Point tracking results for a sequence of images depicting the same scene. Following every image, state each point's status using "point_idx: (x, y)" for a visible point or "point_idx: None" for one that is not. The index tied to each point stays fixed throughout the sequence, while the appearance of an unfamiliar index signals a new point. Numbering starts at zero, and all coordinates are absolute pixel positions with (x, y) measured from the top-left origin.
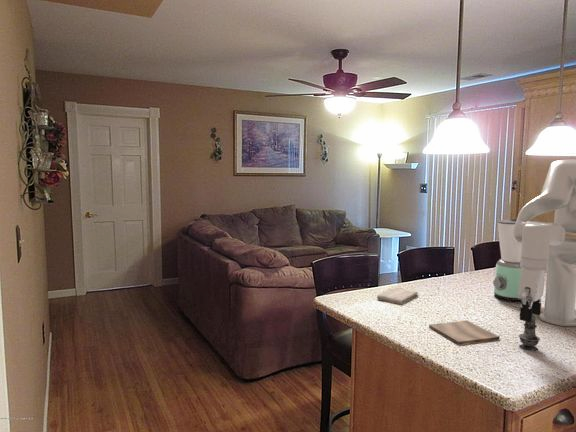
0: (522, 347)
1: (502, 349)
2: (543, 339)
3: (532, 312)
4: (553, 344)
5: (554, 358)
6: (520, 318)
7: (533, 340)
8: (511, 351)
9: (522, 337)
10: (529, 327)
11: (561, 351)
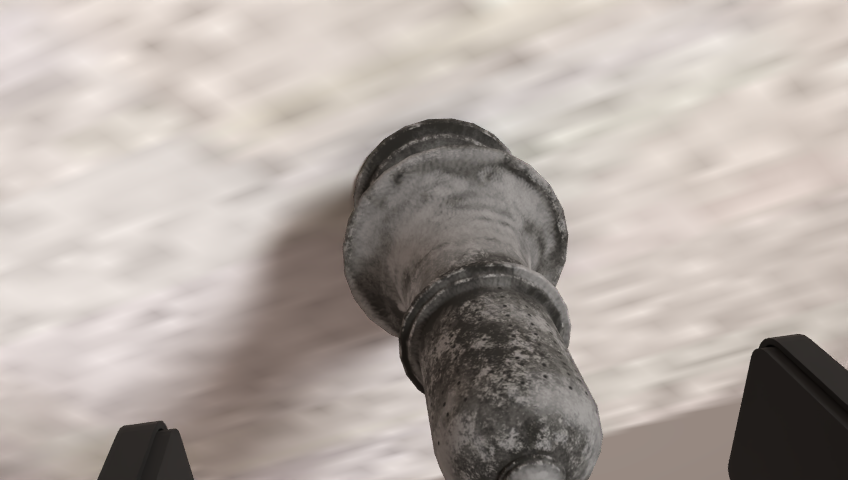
0: (375, 173)
1: (164, 32)
2: (775, 211)
3: (758, 406)
4: (693, 306)
5: (370, 407)
6: (118, 452)
7: (376, 322)
8: (200, 124)
9: (367, 216)
10: (402, 358)
11: None
